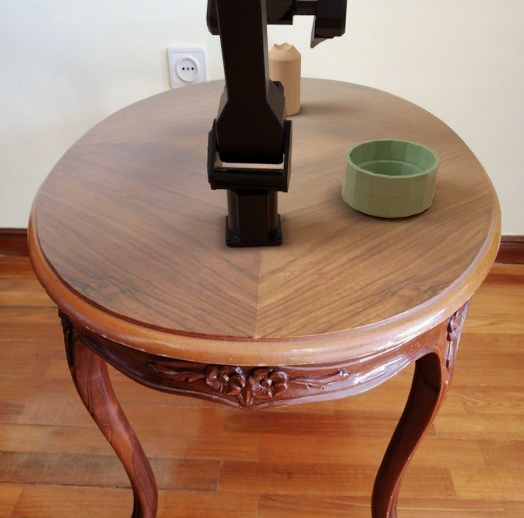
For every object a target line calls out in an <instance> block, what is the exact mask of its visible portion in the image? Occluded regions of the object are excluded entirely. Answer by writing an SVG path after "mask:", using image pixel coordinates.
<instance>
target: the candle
mask: <svg viewBox="0 0 524 518" xmlns="http://www.w3.org/2000/svg"><path fill="white" fill-rule="evenodd" d="M268 55H269V74H270V79H271V80H272V81H281V83H282V85H283V87H284V96H285V98H286V114H287V116H293V115H296V114H298V113H299V112H300V110H301V85H302V83H301V79H302V53H301V52H300V51H299V50H298V49H297V47H296V46H295V45H294V44H290V43H288V42H282V43H281V44H277V43H273V45H272V47H271V48H270V49H269V50H268Z"/></svg>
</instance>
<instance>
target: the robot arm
mask: <svg viewBox="0 0 524 518" xmlns="http://www.w3.org/2000/svg"><path fill="white" fill-rule="evenodd" d="M347 12H348V0H207V2H206V12H205V13H206V14H205V21H206V28H207V29H208V30H207V31H208V32H209V33H210V35H212V36H219V43H220V52H221V58H222V59H221V60H222V66H223V72H224V73H223V74H224V83H225V84H224V86H223V91H222V93H221V95H220V100H219V104H218V109H217V113H216V117H214V118H213V121H212V126H211V129H210V130H209V131H208V135H207V155H206V156H207V157H206V174H207V182H208V184H209V185H210V190H211V191H217V190H221V191H225V192H226V205H227V215H226V216H225V229H224V230H225V231H224V233H225V234H224V235H225V237H224V242H225V246H227V247H245V246H274V245H276V246H277V245H278V246H279V245H282V244H283V242H284V238H283V230H282V223H281V222H282V221H281V214H280V213H279V198H278V197H279V192H281V193H285V194H287V193H289V188H290V182H291V177H292V160H293V159H292V158H293V157H292V156H293V155H292V154H293V131H294V130H293V129H294V128H293V126H294V125H293V119H288V117H287V114H286V98H285V96H284V87H283V85H282V83H281V81H272V80H271V79H270V74H269V55H268V52H269V39H268V26H293V25H294V18H295V16H301V17H302V16H305V17H307V16H310V17H311V16H313V20H312V26H311V32H310V40H309V41H310V43H309V48H310V49H314V48H315V47H317V46H318V45H319V44H321V43H323V42H325V41H327V40H333V39H334V38H341V37H342V36H344V35H345V34H346V27H347ZM223 163H225V164H243V165H244V164H245V165H247V164H248V165H277V166H279V165H282V164H283V165H282V168H274V167H273V168H269V167H240V166H239V167H237V166H224V165H223Z"/></svg>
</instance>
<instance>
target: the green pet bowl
mask: <svg viewBox="0 0 524 518" xmlns="http://www.w3.org/2000/svg"><path fill="white" fill-rule="evenodd" d="M440 166H441V158H440V155H438V153H437V151H436V150H434V149H432V148H430V147H428V146H427V145H426V144H422V143H420V142H416V141H412V140H408V139H400V138H391V137H389V138H373V139H367V140H363V141H359V142H357V143H355V144H353V145H351V146H349V147H348V149H347V150H346V151H345V153H344V155H343V168H342V178H341V179H342V180H341V196H342V199H343V201H344V202H345V203H346V204H347V205H348V206H350V207H351V208H352V209H354V210H355V211H359V212H361V213H363V214H366V215H370V216H371V217H372V216H373V217H377V218H378V217H379V218H386V219H387V218H388V219H395V218H405V217H409V216H413V215H418V214H421V213H422V212H425V211H426V210H427V209H428V208H430V207H431V206H432V203H433V200H434V197H435V191H436V186H437V182H438V176H439V170H440Z"/></svg>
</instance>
